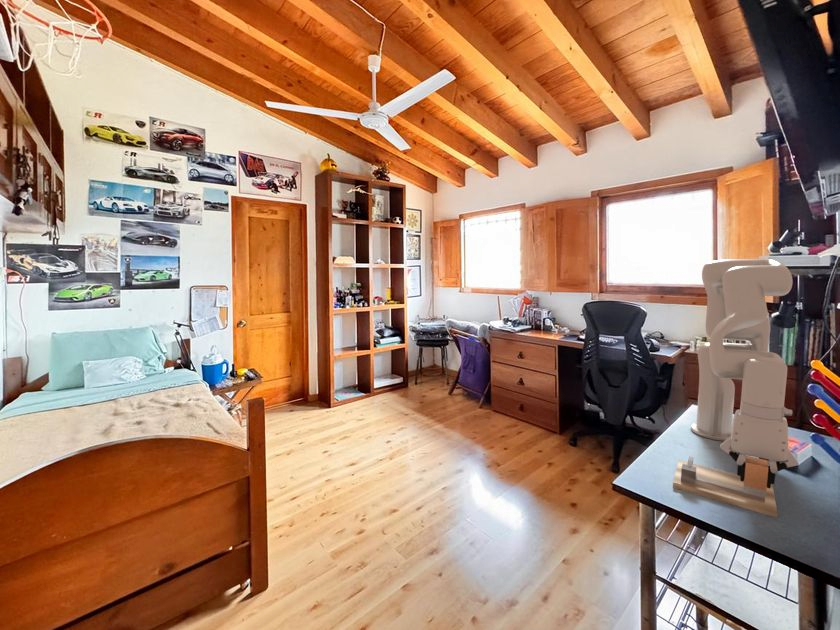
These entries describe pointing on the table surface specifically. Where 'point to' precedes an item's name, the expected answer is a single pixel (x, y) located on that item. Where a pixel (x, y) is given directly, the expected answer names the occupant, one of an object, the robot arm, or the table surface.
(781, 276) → the robot arm
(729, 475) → the plate
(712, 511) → the table surface
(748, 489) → the block
